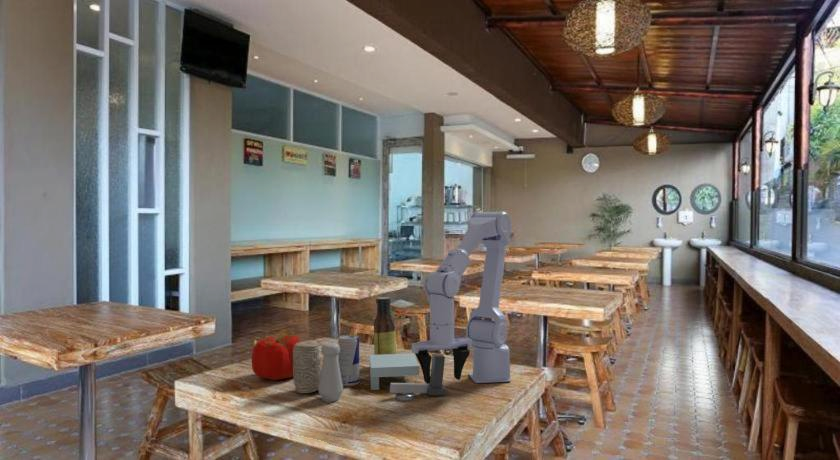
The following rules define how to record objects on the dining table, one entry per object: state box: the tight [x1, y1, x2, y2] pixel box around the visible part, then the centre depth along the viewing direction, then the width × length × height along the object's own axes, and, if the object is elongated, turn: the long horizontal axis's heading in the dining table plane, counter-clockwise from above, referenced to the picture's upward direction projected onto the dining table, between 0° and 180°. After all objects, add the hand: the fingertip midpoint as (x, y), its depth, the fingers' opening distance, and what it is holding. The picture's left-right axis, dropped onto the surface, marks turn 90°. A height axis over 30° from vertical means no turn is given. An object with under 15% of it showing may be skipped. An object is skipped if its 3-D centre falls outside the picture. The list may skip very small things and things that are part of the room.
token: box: [395, 393, 415, 403], centre depth 119 cm, size 4×4×1 cm
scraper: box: [389, 353, 448, 397], centre depth 121 cm, size 13×4×9 cm, turn 105°
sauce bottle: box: [373, 296, 397, 355], centre depth 144 cm, size 7×6×20 cm
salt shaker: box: [317, 342, 344, 403], centre depth 118 cm, size 6×6×13 cm
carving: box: [292, 340, 322, 394], centre depth 124 cm, size 6×8×12 cm
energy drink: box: [337, 334, 360, 387], centre depth 130 cm, size 5×5×12 cm
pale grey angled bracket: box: [369, 352, 420, 391], centre depth 131 cm, size 12×12×6 cm
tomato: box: [251, 334, 301, 381], centre depth 136 cm, size 14×13×10 cm
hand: (442, 380), depth 119 cm, fingers open, 7 cm apart
